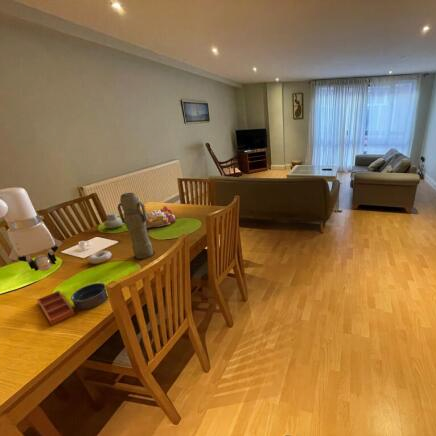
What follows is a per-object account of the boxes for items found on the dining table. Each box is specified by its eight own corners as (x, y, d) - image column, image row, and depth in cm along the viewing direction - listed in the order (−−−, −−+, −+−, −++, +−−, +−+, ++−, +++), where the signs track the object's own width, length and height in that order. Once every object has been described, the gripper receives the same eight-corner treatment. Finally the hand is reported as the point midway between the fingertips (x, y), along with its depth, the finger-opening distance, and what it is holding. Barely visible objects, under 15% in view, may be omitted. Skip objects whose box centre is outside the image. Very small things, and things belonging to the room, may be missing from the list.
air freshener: (126, 225, 169) (122, 212, 165) (115, 230, 162) (111, 216, 158) (114, 223, 172) (110, 210, 168) (103, 228, 165) (99, 214, 161)
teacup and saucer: (88, 243, 145) (85, 237, 143) (97, 245, 142) (95, 239, 141) (71, 250, 137) (69, 244, 136) (81, 252, 135) (78, 246, 133)
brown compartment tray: (51, 325, 87) (49, 321, 86) (39, 303, 97) (36, 299, 96) (75, 314, 92) (73, 309, 91) (60, 294, 102) (58, 290, 102)
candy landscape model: (178, 224, 171) (175, 212, 167) (140, 231, 159) (136, 219, 156) (173, 213, 190) (171, 202, 187) (139, 219, 179) (136, 208, 175)
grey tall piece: (155, 257, 130) (139, 195, 117) (130, 260, 127) (110, 197, 113) (158, 249, 138) (143, 190, 124) (134, 252, 134) (116, 192, 121)
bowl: (80, 314, 92) (76, 305, 90) (71, 302, 98) (67, 293, 96) (113, 298, 100) (110, 289, 98) (103, 288, 106) (100, 279, 104)
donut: (98, 255, 132) (84, 265, 123) (96, 249, 131) (82, 259, 122) (116, 254, 133) (104, 264, 123) (114, 249, 131) (102, 258, 122)
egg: (40, 274, 90) (33, 260, 87) (37, 270, 92) (30, 256, 89) (55, 269, 93) (49, 254, 90) (52, 265, 95) (46, 251, 93)
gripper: (52, 213, 93) (69, 254, 100) (-14, 228, 80) (11, 274, 87) (58, 217, 89) (76, 259, 96) (-11, 234, 76) (15, 281, 83)
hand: (44, 265), depth 92 cm, fingers closed on egg, 4 cm apart
